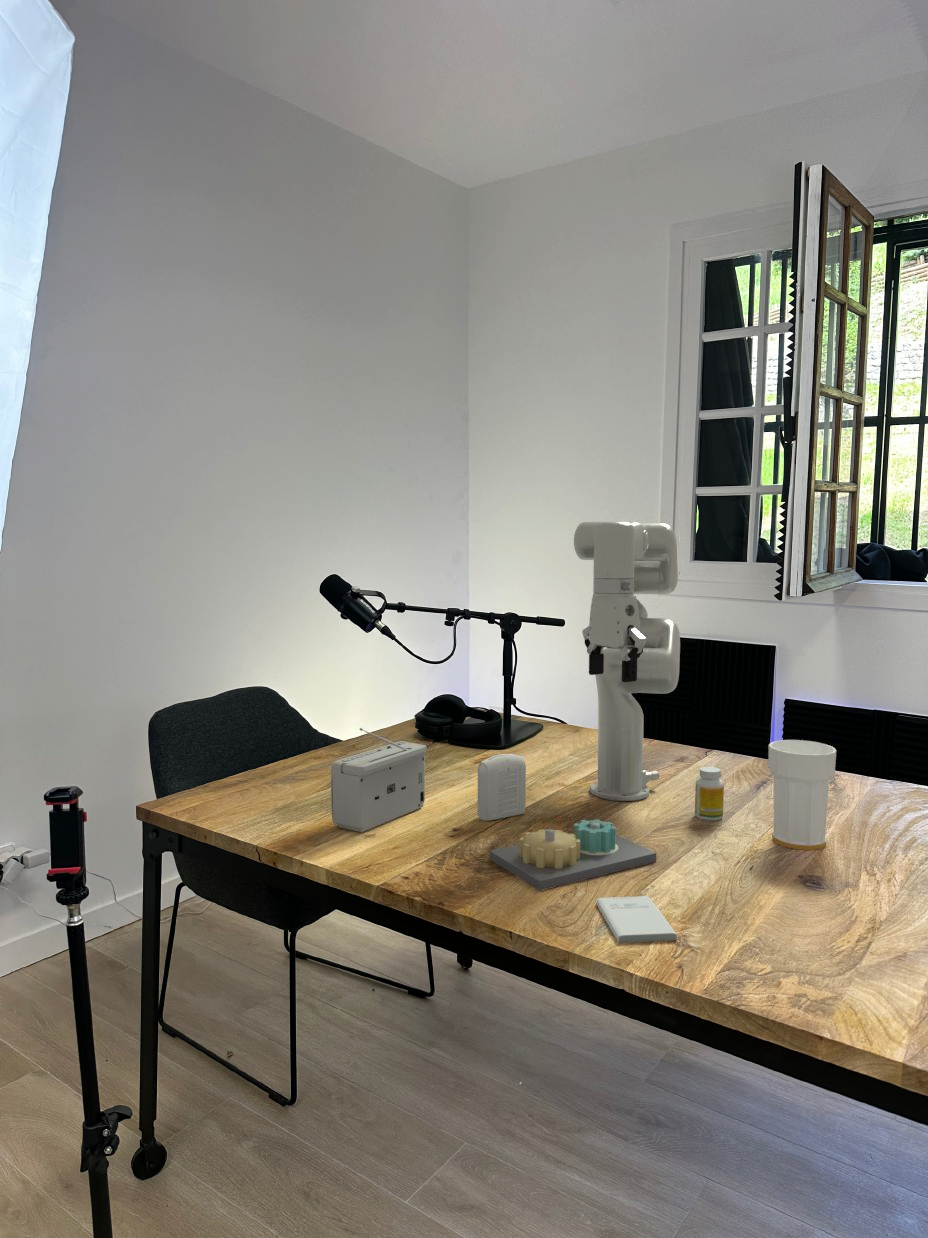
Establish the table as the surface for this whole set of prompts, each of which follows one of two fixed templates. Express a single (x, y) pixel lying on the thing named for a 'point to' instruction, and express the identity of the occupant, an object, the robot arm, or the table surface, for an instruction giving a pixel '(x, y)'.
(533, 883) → the gear board
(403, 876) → the table surface
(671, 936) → the external hard drive
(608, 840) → the teal gear
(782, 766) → the cup
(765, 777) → the table surface
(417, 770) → the stereo radio cassette player
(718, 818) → the supplement bottle
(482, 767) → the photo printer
